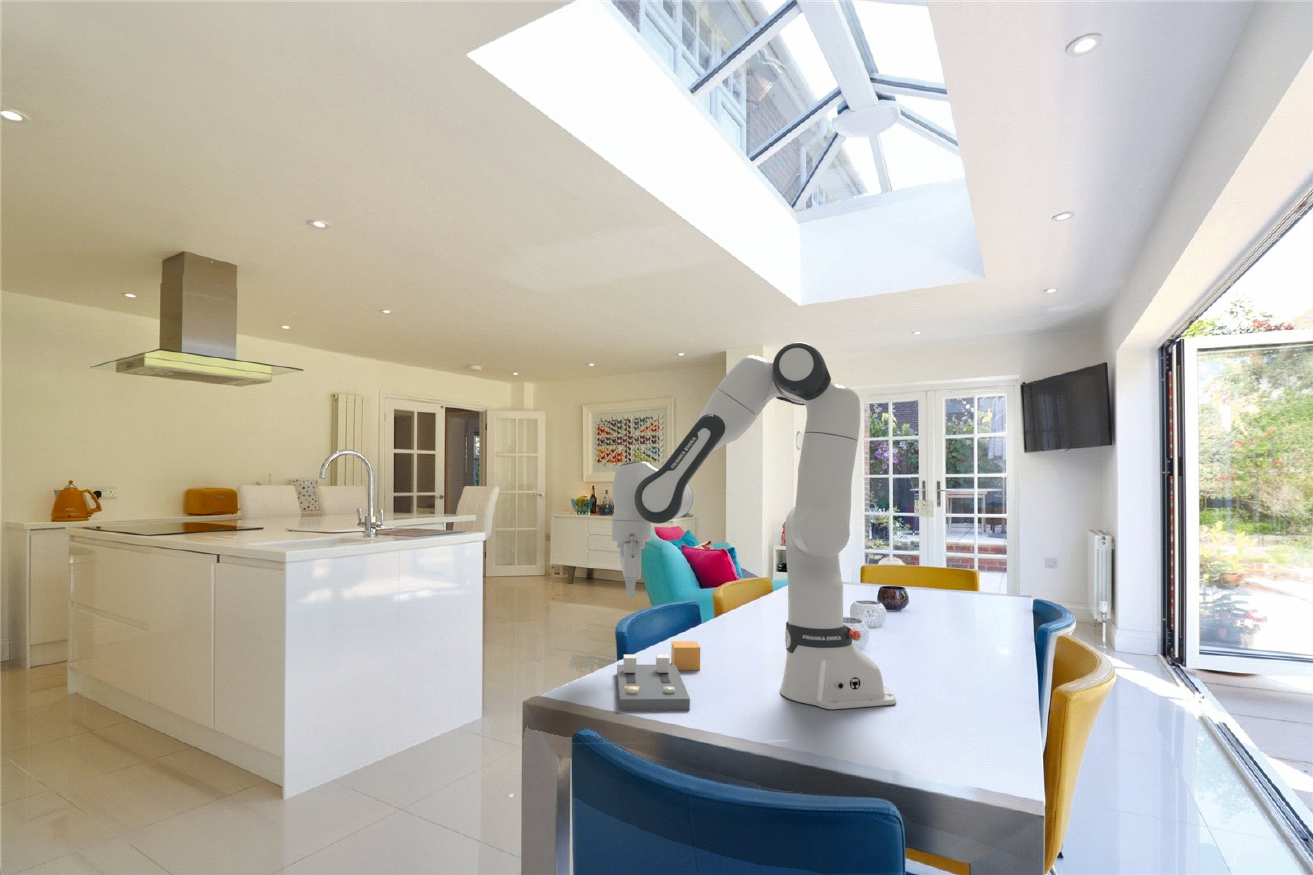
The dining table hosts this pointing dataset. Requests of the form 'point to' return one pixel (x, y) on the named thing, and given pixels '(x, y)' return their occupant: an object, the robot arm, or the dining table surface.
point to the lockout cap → (685, 655)
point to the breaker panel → (652, 689)
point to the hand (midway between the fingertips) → (630, 595)
